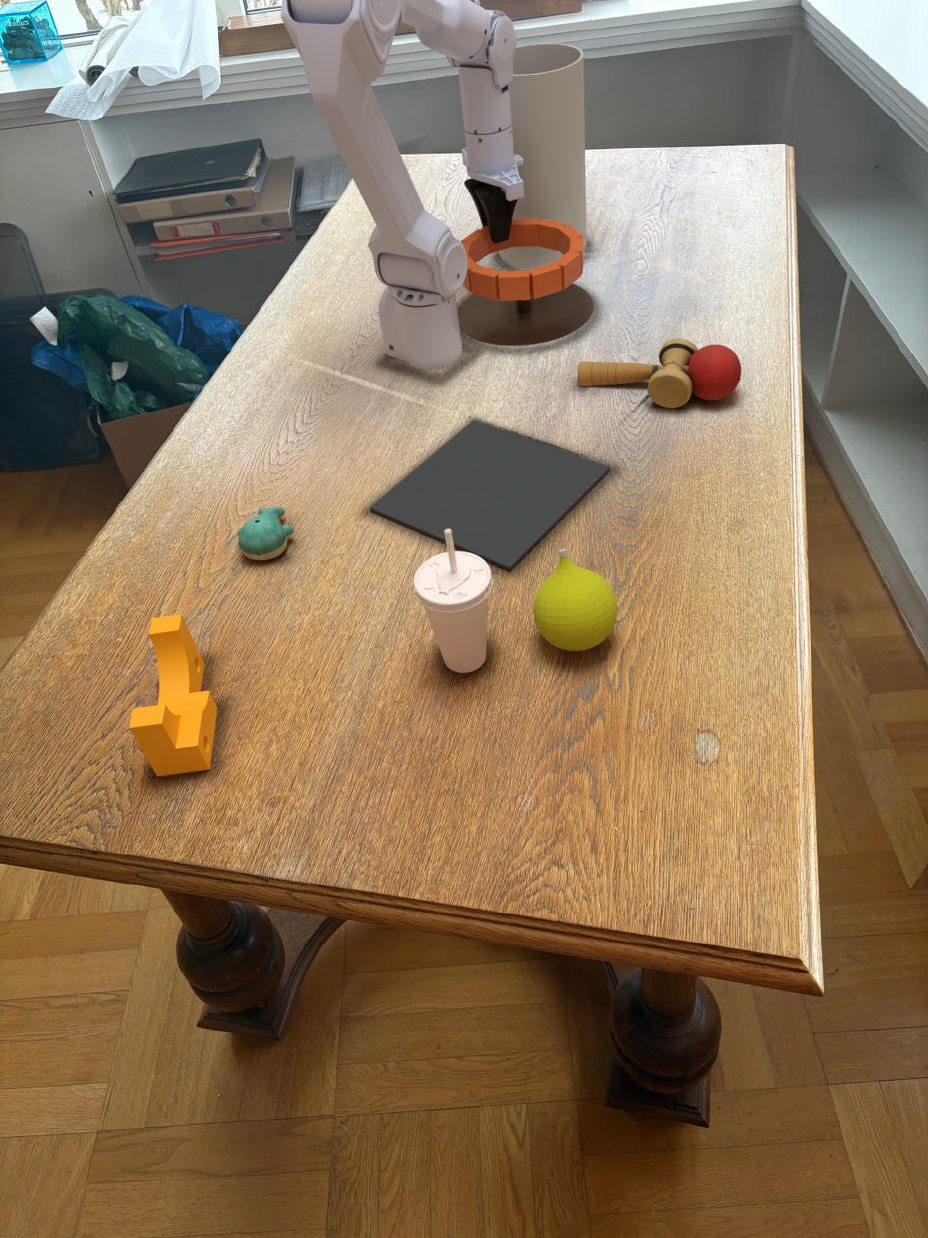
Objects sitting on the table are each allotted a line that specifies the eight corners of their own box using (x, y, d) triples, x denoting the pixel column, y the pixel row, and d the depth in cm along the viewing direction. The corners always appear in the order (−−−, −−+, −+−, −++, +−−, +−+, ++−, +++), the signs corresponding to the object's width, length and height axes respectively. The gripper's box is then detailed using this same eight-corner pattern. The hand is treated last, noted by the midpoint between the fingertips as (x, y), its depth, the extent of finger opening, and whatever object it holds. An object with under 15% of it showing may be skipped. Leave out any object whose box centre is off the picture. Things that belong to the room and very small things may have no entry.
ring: (434, 283, 119) (431, 260, 117) (506, 232, 127) (504, 209, 125) (537, 311, 112) (535, 287, 110) (606, 255, 120) (607, 232, 117)
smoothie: (510, 637, 84) (497, 514, 74) (488, 691, 80) (471, 569, 70) (443, 625, 86) (421, 504, 76) (418, 677, 82) (391, 557, 72)
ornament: (558, 600, 87) (553, 515, 80) (630, 623, 84) (632, 537, 77) (521, 652, 83) (513, 568, 76) (596, 678, 80) (594, 593, 73)
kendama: (575, 417, 109) (737, 411, 102) (568, 363, 105) (735, 354, 99) (591, 391, 115) (745, 384, 108) (585, 340, 111) (744, 329, 104)
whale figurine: (233, 566, 95) (222, 537, 92) (249, 519, 100) (239, 490, 97) (290, 564, 94) (280, 535, 92) (303, 516, 99) (294, 487, 97)
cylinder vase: (601, 240, 137) (600, 45, 119) (560, 279, 130) (553, 78, 112) (526, 228, 142) (515, 40, 125) (483, 265, 135) (464, 71, 118)
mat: (370, 511, 99) (369, 507, 99) (473, 423, 108) (473, 419, 108) (510, 571, 90) (509, 567, 90) (610, 470, 99) (610, 466, 99)
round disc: (428, 331, 124) (423, 299, 121) (508, 272, 133) (506, 241, 130) (542, 364, 115) (541, 330, 112) (620, 299, 124) (620, 266, 121)
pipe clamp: (209, 769, 77) (184, 720, 73) (157, 776, 78) (129, 728, 73) (223, 661, 86) (201, 611, 81) (176, 667, 86) (151, 618, 81)
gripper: (544, 134, 109) (549, 249, 119) (494, 102, 119) (502, 210, 129) (488, 149, 108) (498, 265, 117) (442, 115, 118) (454, 224, 127)
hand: (497, 237), depth 123 cm, fingers closed on ring
